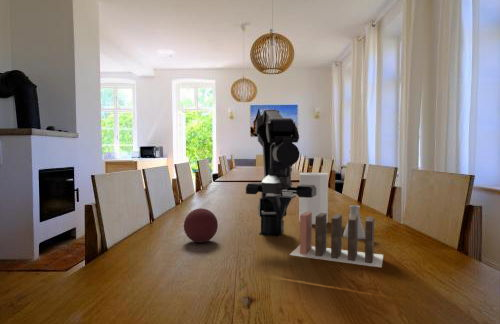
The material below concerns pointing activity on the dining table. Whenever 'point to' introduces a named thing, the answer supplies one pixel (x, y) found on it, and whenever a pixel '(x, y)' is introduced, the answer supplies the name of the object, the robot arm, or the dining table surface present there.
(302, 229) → the domino
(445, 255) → the dining table surface
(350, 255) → the domino
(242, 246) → the dining table surface
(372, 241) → the domino
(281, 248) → the dining table surface
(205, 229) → the decorative ball
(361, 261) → the runner
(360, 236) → the flask
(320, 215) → the domino
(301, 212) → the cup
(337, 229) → the domino
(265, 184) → the robot arm
